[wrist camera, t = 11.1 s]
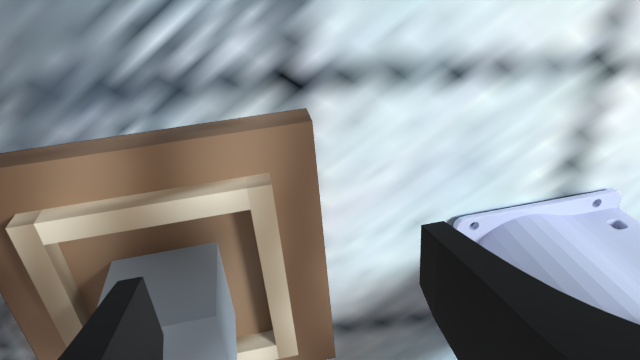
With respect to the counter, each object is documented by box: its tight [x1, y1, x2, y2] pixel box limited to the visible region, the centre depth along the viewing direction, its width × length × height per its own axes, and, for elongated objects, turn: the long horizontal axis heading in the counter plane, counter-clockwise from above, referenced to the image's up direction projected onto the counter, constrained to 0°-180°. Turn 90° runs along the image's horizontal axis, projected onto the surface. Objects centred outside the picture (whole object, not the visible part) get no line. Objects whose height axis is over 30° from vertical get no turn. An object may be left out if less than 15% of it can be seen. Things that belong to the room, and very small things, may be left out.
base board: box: [0, 108, 335, 360], centre depth 21 cm, size 14×14×2 cm
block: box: [97, 242, 237, 360], centre depth 19 cm, size 4×4×4 cm
